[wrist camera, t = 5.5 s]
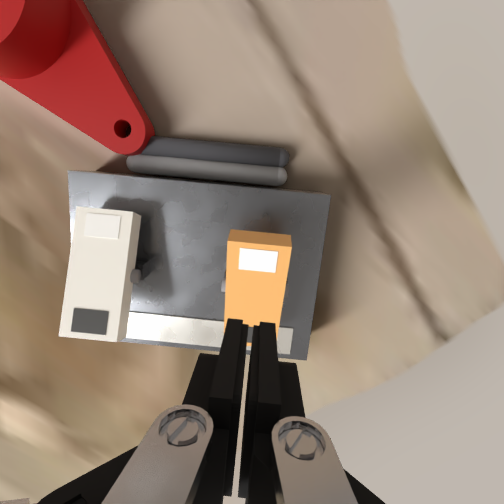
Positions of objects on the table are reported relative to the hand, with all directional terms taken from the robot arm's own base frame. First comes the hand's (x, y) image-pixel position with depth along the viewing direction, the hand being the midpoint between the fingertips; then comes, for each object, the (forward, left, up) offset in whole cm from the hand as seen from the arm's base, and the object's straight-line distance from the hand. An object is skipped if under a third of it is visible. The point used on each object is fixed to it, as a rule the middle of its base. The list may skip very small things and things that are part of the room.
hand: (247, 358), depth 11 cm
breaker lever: (+2, 0, -12) cm, 12 cm away
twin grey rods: (-8, -5, -19) cm, 21 cm away
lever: (-13, -17, -19) cm, 28 cm away
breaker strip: (+2, -5, -19) cm, 19 cm away
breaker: (+2, -11, -12) cm, 16 cm away
